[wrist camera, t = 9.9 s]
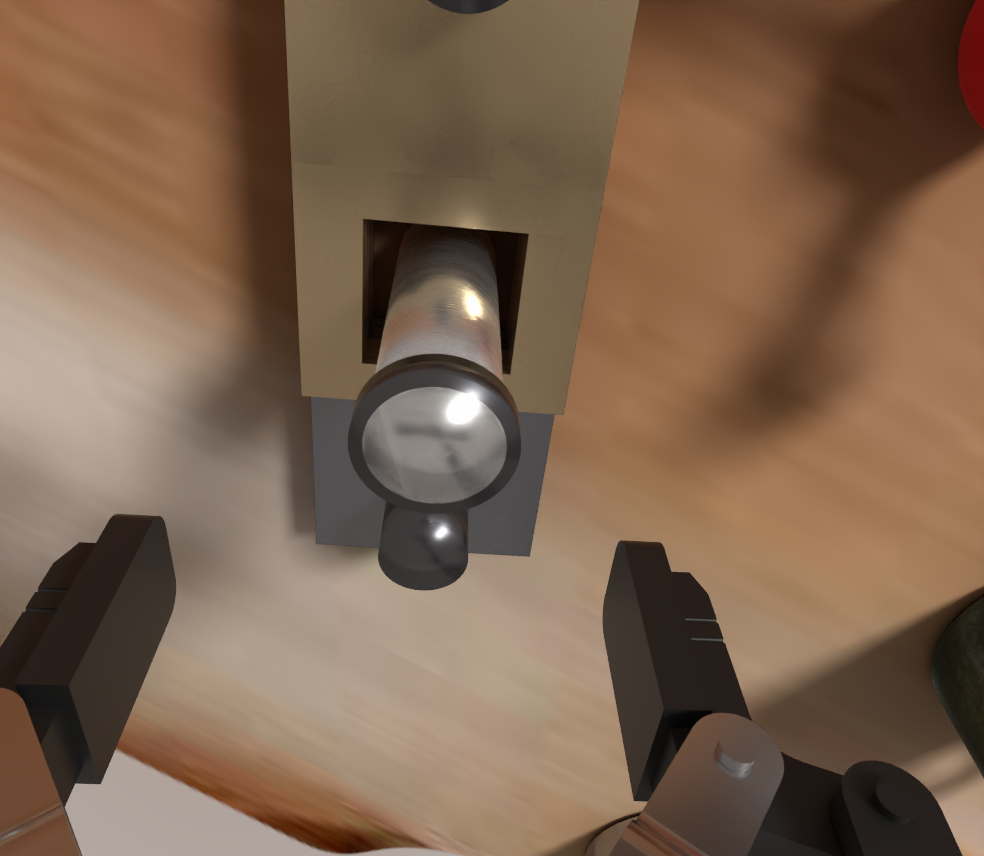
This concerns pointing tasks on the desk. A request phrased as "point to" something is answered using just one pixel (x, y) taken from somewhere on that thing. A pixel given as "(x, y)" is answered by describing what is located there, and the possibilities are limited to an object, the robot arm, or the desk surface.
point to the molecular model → (973, 62)
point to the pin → (438, 381)
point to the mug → (963, 677)
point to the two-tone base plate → (446, 220)
